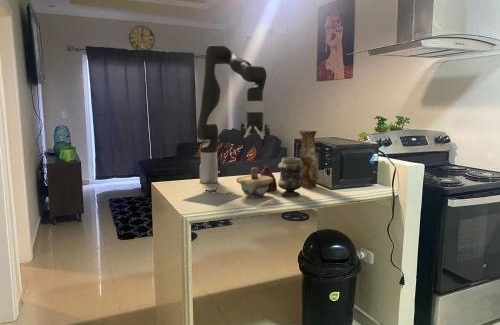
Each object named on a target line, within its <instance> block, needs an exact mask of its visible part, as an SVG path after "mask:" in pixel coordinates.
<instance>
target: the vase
mask: <svg viewBox="0 0 500 325" xmlns="http://www.w3.org/2000/svg"><path fill="white" fill-rule="evenodd" d="M298 132H299V134H300V136H301V149H300V158H299V160H300V163H301V164H302V165H303V168H302V169H301V170H300V180H301V181H302V182H303V185H302V187H301V188H306V189H312V188H313V189H315V188H317V187H318V185H317V182H318V179H319V167H318V158H317V152H316V143H315V136H316V134H317V132H318V130H317V129H312V130H311V129H308V130H307V129H300V130H298Z"/></svg>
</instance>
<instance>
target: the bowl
mask: <svg viewBox="0 0 500 325" xmlns="http://www.w3.org/2000/svg"><path fill="white" fill-rule="evenodd" d="M240 186H241V190H242V192H243V194H244V195H245V196H247V197H248V198H251V199H259V198H262V197H263V196H264V195H266V193H268V192H267V190H268V186H269V184H264V185H245V184H240Z"/></svg>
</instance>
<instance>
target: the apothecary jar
mask: <svg viewBox="0 0 500 325" xmlns="http://www.w3.org/2000/svg"><path fill="white" fill-rule="evenodd" d="M277 168H278V169H279V172H280V176H279V177H280V178H279V179H278V181H277V187H278V188H280V189H282V190H284V191H282V192H280V194H279V196H280V195H281V197H283V198H298V197H300V196H301V194H300V192H297V191H296V190H299V189H301V188H303V187H302V185H303V182H302V181H301V180H300V170H301V169H302V168H303V165H302V164H301V163H300V158H299V157H282V158H281V162H279V163H278V166H277Z"/></svg>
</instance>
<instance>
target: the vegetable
mask: <svg viewBox="0 0 500 325" xmlns="http://www.w3.org/2000/svg"><path fill="white" fill-rule="evenodd" d="M259 175H262V176H269V177H272V178H273V182H272V183H269V186H268V190H267V192H266V193H272V192H275V191H277V190H278V182H277V179H276V178H275V175H274V174H273V173H272V169H270V166H269V165H268V164H265V166H264V168H263V170H262V171H261V172H260V173H259Z"/></svg>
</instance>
